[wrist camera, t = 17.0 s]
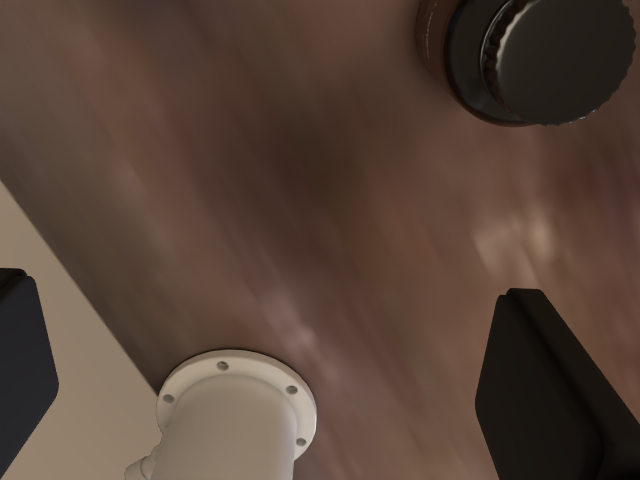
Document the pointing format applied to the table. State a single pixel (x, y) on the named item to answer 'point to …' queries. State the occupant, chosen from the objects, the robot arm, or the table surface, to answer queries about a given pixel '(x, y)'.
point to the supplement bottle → (526, 56)
